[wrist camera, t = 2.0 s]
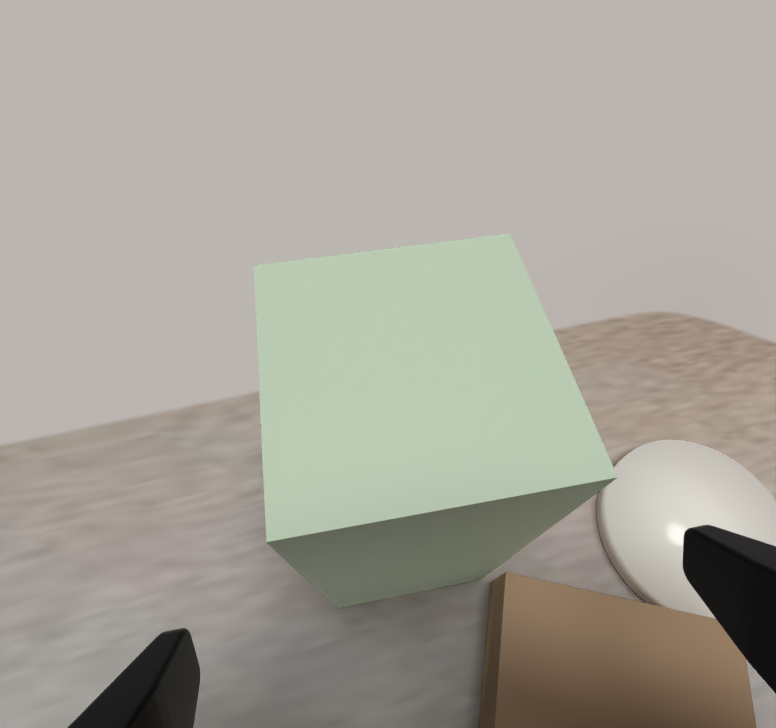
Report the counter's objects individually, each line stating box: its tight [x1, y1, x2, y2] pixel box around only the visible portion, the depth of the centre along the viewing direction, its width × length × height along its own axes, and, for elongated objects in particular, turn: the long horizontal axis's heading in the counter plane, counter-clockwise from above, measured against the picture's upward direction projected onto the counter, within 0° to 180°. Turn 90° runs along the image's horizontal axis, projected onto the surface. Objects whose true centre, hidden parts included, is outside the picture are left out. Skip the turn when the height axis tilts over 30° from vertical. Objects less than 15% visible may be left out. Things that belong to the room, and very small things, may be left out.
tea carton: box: [254, 233, 618, 608], centre depth 14 cm, size 6×6×12 cm
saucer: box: [597, 440, 776, 619], centre depth 19 cm, size 7×7×1 cm
